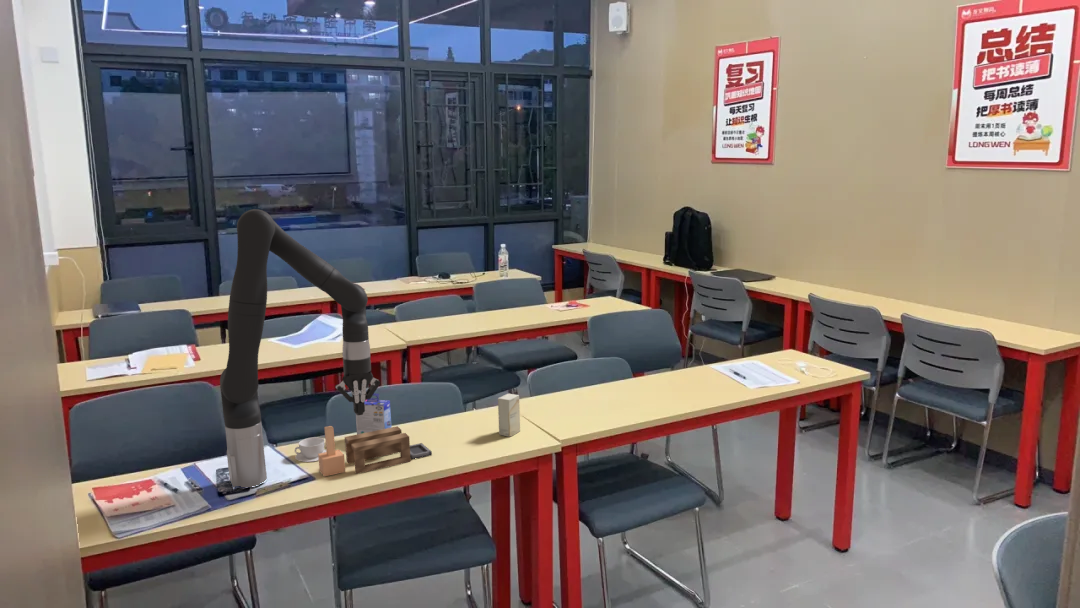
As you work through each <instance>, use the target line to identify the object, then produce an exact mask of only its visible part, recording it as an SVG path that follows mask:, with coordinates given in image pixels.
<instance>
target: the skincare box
mask: <svg viewBox="0 0 1080 608" xmlns="http://www.w3.org/2000/svg"><path fill="white" fill-rule="evenodd" d="M497 407H498V408H497V409H498V412H497V413H498V415H497V416H498V434H499V436H505V437H512V436H514V435H516V434H518V433H520V432H521V411H520V395H519V394H514V393H506V394H504V395H502V396H499V397H497Z"/></svg>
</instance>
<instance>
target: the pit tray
mask: <svg viewBox="0 0 1080 608" xmlns="http://www.w3.org/2000/svg"><path fill="white" fill-rule="evenodd" d="M432 455H433V452H432V450H431V449H429V447H427V446H426V445H425V444H423V443H422V442H420V443H415V444H412V445H411V444H410V457H411V460H416V459H415V458H418V459H421V458H420V457H422V458H426V457H430V456H432Z"/></svg>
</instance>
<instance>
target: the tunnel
mask: <svg viewBox="0 0 1080 608" xmlns="http://www.w3.org/2000/svg"><path fill="white" fill-rule="evenodd" d="M344 445H345V454H346V456H345V457H346V464H349V465H350V464H352V463H354V473H356V474H357V475H358V474H362V473H367V472H371V471H374V470H375V471H376V470H378V469H384V468H387V467H388V466H389V467H392V466H397V465H401V463H402V464H406V463H410V461H412V458H410V445H411V443H410V436H409V435H408V434H407V433H406V432H403V433H402V429H401V428H400V427H399V426H397V425H396V426H391V428H387V429H382V430H377V431H372V432H367V433H362V434H357V433H356V434H353V435H348V436H344ZM398 452H399V453H400V455H399V456H397V457H393V458H388V459H384V460H381V461H376V462H372V463H371V462H370V463H367V464H366V460H371V459H375V458H380V457H385V456H388V455H389V454H390V455H393V453H394V454H399V453H398ZM390 455H389V456H390Z"/></svg>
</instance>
